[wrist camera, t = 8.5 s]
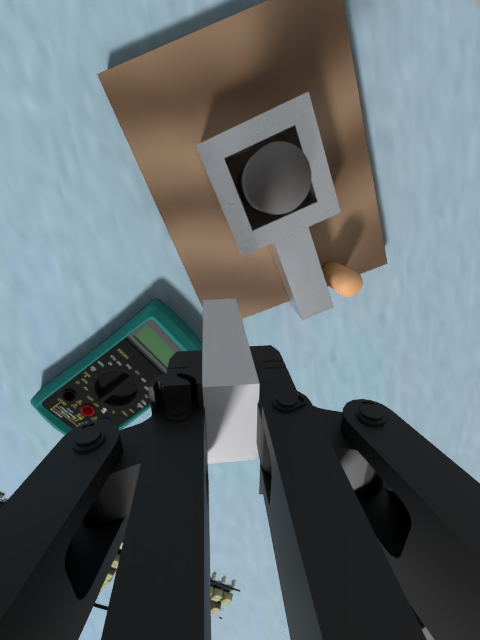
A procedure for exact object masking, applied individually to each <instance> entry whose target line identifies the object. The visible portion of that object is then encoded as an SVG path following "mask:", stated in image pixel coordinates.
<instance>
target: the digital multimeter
mask: <svg viewBox="0 0 480 640" xmlns="http://www.w3.org/2000/svg"><path fill="white" fill-rule="evenodd" d="M116 344H117V345H116ZM194 350H203V344H202V343H201V342H200V340H199V339H198V338H197V337H196V335H195V334H194V333H193V332H192V331H191V330H190V329H189V327H188V326H187V325H186V324H185V323H184V322H183V321H182V320H181V319H180V318H179V317H178V316H177V315H176V314H175V313H174V312H173V311H172V310H170V309H169V308H168V307H167V306H166V305H165V304H164V303H163V302H162V301H160V300H158V299H155V300H152V301H151V302H150V303H149V304H148V305H147V306H145V307H144V308H143V309H142V310H141V311H140V312H138V313H137V314H136V315H135V316H134V317H133V318H132V319H130V320H129V321H128V322H127V323H126V324H125V325H123V326H122V327H121V328H120V329H119V330H118V331H116V332H115V333H114V334H113V335H111V336H110V337H109V338H108V339H106V340H105V341H104V342H103V343H102V344H100V345H99V346H98V347H97V348H95V349H94V350H93V351H92V352H90V353H89V354H88V355H86V356H85V357H83V358H82V359H81V360H79V361H78V362H77V363H75V364H74V365H73V366H71V367H70V368H69V369H67V370H66V371H64V372H63V373H62V374H60V375H59V376H57V377H56V378H54V379H53V380H52V381H50V382H49V383H47V384H46V385H44V386H43V387H42V388H41V389H40V390H39V391H38V392H37V393H36V395H35V396H34V397H33V398H32V399H31V404H32V405H33V407H34V408H35V409H36V410H37V411H38V412H39V413H40V414H41V416H42V417H43V418H44V419H45V420H46V421H48V422H49V423H50V424H51V425H52V426H53V427H54V428H55V429H57V430H58V431H60V432H61V433H62V434H64V435H66V434H67V433H68V432H69V431H71V430H72V429H74V428H75V427H77V426H79V425H81V424H83V423H87V422H90V421H94V420H107V421H111V422H113V423H114V424H116V425H117V426H118V428H119V430H121V429H123V428H124V427H125V426H127V425H128V424H129V423H131V422H132V421H133V420H134V419H136V418H137V417H138V416H140V415H141V414H142V413H144V412H145V411H147V410H148V409H150V408H151V403H150V397H149V390H148V387H149V385H150V383H151V382H152V381H153V380H154V379H155V378H157V377H158V376H160V375H162V374H165V373H167V369H168V363H169V359H170V358H171V357H172V356H173V355H174V354H175V353H176V352H177V351H194ZM103 354H104V355H103ZM94 361H95V362H94ZM85 368H86V369H85ZM72 378H73V379H72ZM68 381H69V382H68ZM63 385H64V386H63ZM59 388H60V389H59ZM54 392H55V393H54ZM50 395H51V396H50ZM135 400H136V401H135Z"/></svg>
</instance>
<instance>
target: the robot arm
mask: <svg viewBox="0 0 480 640" xmlns="http://www.w3.org/2000/svg"><path fill="white" fill-rule="evenodd" d="M148 390H149V397H150V403H151V410H152V416H151V417H150V418H149V419H147V420H146V421H144V422H142V423H140V424H137V425H135V426H131V427H128V428H125V429H122V430H119V428H118V426H117V425H116V424H114V423H113V422H111V421H107V420H94V421H90V422H87V423H83V424H81V425H79V426H77V427H75V428H74V429H72V430H71V431H69V432H68V433H67V434H66V435H65V436H64V437H63V438H62V439H61V440H60V441H59V442H58V443H57V445H56V446H55V447H54V448H53V449H52V450H51V451H50V452H49V454H48V455H47V456H46V457H45V458H44V459H43V460H42V462H41V463H40V464H39V465H38V466H37V467H36V468H35V470H34V471H33V472H32V473H31V474H30V475H29V476H28V478H27V479H26V480H25V481H24V482H23V483H22V484H21V486H20V487H19V488H18V489H17V490H16V491H15V492H14V494H13V495H12V496H11V497H10V498H9V499H8V500H7V502H6V503H5V504H4V505H3V506H2V507H1V508H0V640H78V639H79V637H80V634H81V632H82V630H83V628H84V626H85V623H86V621H87V619H88V617H89V614H90V612H91V610H92V608H93V606H94V603H95V601H96V599H97V597H98V595H99V592H100V590H101V588H102V586H103V584H104V581H105V579H106V577H107V575H108V572H109V570H110V568H111V566H112V564H113V561H114V559H115V557H116V555H117V553H118V550H119V548H120V546H121V544H122V542H123V545H122V549H121V554H120V558H119V562H118V567H117V571H116V576H115V580H114V585H113V589H112V593H111V598H110V602H109V607H108V611H107V615H106V620H105V624H104V629H103V633H102V638H101V640H211V599H210V538H209V480H208V464H212V463H223V462H234V461H245V460H256V459H257V457H258V453H259V458H260V487H259V494H263V495H264V500H265V506H266V511H267V516H268V522H269V527H270V532H271V538H272V543H273V548H274V554H275V559H276V564H277V570H278V575H279V580H280V585H281V591H282V596H283V601H284V607H285V612H286V617H287V623H288V628H289V633H290V639H291V640H426V638H425V635H424V634H423V631H422V629H421V627H420V625H419V623H418V621H417V619H416V617H415V615H414V613H413V611H412V609H411V607H410V605H411V606H412V608H413V609H414V610H415V612H416V613H417V615H418V616H419V618H420V619H421V621H422V622H423V624H424V625H425V626H426V628H427V629H428V631H429V632H430V634H431V635H432V637H433V638H434V639H435V640H480V483H478V482H477V481H476V480H475V479H474V478H472V477H471V476H470V475H469V474H468V473H466V472H465V471H464V470H463V469H462V468H460V467H459V466H458V465H457V464H456V463H454V462H453V461H452V460H451V459H450V458H448V457H447V456H446V455H445V454H444V453H442V452H441V451H440V450H439V449H438V448H436V447H435V446H434V445H433V444H431V443H430V442H429V441H428V440H427V439H425V438H424V437H423V436H422V435H421V434H419V433H418V432H417V431H416V430H415V429H413V428H412V427H411V426H410V425H409V424H407V423H406V422H405V421H404V420H403V419H401V418H400V417H399V416H398V415H397V414H395V413H394V412H393V411H392V410H390V409H389V408H387V407H386V406H384V405H383V404H380V403H377V402H375V401H372V400H365V399H358V400H352V401H350V402H348V403H346V405H345V406H344V408H343V412H338V411H331V410H325V409H321V408H317V407H315V406H312V403H311V402H310V400H309V399H308V398H307V397H306V396H305V395H304V394H302V393H300V392H299V391H297V390H296V388H295V385H294V383H293V381H292V379H291V376H290V374H289V372H288V370H287V368H286V365H285V363H284V361H283V359H282V357H281V354H280V352H279V351H278V350H276V349H275V348H274V347H272V346H271V345H268V346H249V344H248V340H247V337H246V333H245V329H244V326H243V322H242V319H241V315H240V311H239V308H238V304H237V301H236V299H216V300H203V350H194V351H177V352H176V353H175V354H174V355H173V356H172V357H171V358H170V359H169V363H168V369H167V373H165V374H162V375H160V376H158V377H157V378H155V379H154V380H153V381H152V382H151V383H150V385H149V387H148ZM123 539H124V540H123ZM407 600H408V601H407ZM408 602H409V603H410V605H409V603H408Z"/></svg>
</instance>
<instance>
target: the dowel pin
mask: <svg viewBox="0 0 480 640" xmlns="http://www.w3.org/2000/svg"><path fill="white" fill-rule="evenodd" d="M322 272H323V275H324V278H325V281H326V284H327V285H329V286H330V287H331V288H333V289H334V290H335V291H337V292H338V293H339V294H341V295H342V296H344V297H351V296H354V295H356V294H357V293H358V292H359V291H360V290H361V288H362V284H363V280H362V277H361V275H360V274H358V273H357V272H355V271H353V270H351V269H349V268H347V267H345V266H343V265H341V264H339V263H338V262H335V261H330V262H327V263H326V264H324V265H323V267H322Z"/></svg>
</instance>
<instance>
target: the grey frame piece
mask: <svg viewBox="0 0 480 640" xmlns="http://www.w3.org/2000/svg"><path fill="white" fill-rule="evenodd" d="M281 135H283V136H284V139H285V142H288V143H291V144H293V145H295V146H297V147H298V148H299V149H300V150H302V152H303V153H304V154H305V156H306V157H307V159H308V161H309V164H310V167H311V185H310V189H309V192H308V194H307V196H306V198H305V199H304V201H303V202H302V203H301V204H300V205H299V206H298V207H297V208H295V209H294V210H292V211H290V212H288V213H285V214H274V215H271V216H269V217H267V218H265V219H263V220H260V221H258V222H256V223H254V224H251V225H250V223H249V221H248V218H247V216H246V213H245V211H244V208H243V205H242V203H241V200H240V198H239V195H238V193H237V190H236V188H235V185H234V182H233V180H232V177H231V175H230V172H229V170H228V167H227V164H226V161H228V160H230V159H232V158H234V157H237V156H239V155H241V154H243V153H245V152H247V151H249V150H252V149H254V148H256V147H258V146H260V145H262V144H264V143H266V142H269V141H271V140H273V139H275V138H277V137H279V136H281ZM196 148H197V151H198V154H199V156H200V159H201V161H202V164H203V166H204V168H205V171H206V173H207V175H208V178H209V180H210V183H211V185H212V187H213V190H214V192H215V195H216V197H217V199H218V202H219V204H220V206H221V209H222V211H223V214H224V216H225V218H226V221H227V223H228V226H229V228H230V230H231V233H232V235H233V237H234V240H235V242H236V245H237V247H238V249H239V251H240V253H241V255H242V256H244V255H246V254H249V253H251V252H253V251H255V250H258V249H260V248H262V247H264V246H267V245H269V247H270V249H271V252H272V255H273V257H274V260H275V263H276V265H277V268H278V271H279V273H280V276H281V279H282V281H283V284H284V287H285V289H286V292H287V295H288V297H289V300H290V303H291V305H292V307H293V308H294V310H295V311H296V312H297V314H298V315H299V316H300V318H301V319H302V320H304V319H307V318H309V317H311V316H314V315H316V314H319V313H321V312H323V311H326V310H328V309H330V308H333V303H332V300H331V297H330V294H329V291H328V288H327V284H326V281H325V278H324V275H323V272H322V268H321V265H320V262H319V259H318V256H317V253H316V249H315V246H314V243H313V240H312V237H311V233H310V230H309V226H312V225H314V224H316V223H318V222H321V221H323V220H325V219H327V218H330V217H332V216H334V215H336V214H339V213H341V211H340V208H339V204H338V200H337V196H336V193H335V189H334V185H333V181H332V178H331V174H330V170H329V166H328V162H327V159H326V155H325V151H324V147H323V144H322V140H321V136H320V132H319V129H318V125H317V121H316V117H315V114H314V110H313V106H312V102H311V99H310V95H309V92H306V93H304V94H302V95H300V96H298V97H296V98H294V99H292V100H290V101H288V102H285V103H283V104H281V105H279V106H277V107H275V108H273V109H271V110H269V111H267V112H264V113H262V114H260V115H258V116H256V117H254V118H252V119H250V120H248V121H246V122H243V123H241V124H239V125H237V126H235V127H233V128H231V129H229V130H227V131H225V132H222V133H220V134H218V135H216V136H214V137H212V138H210V139H208V140H206V141H204V142H201V143H199V144H197V145H196Z"/></svg>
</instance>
